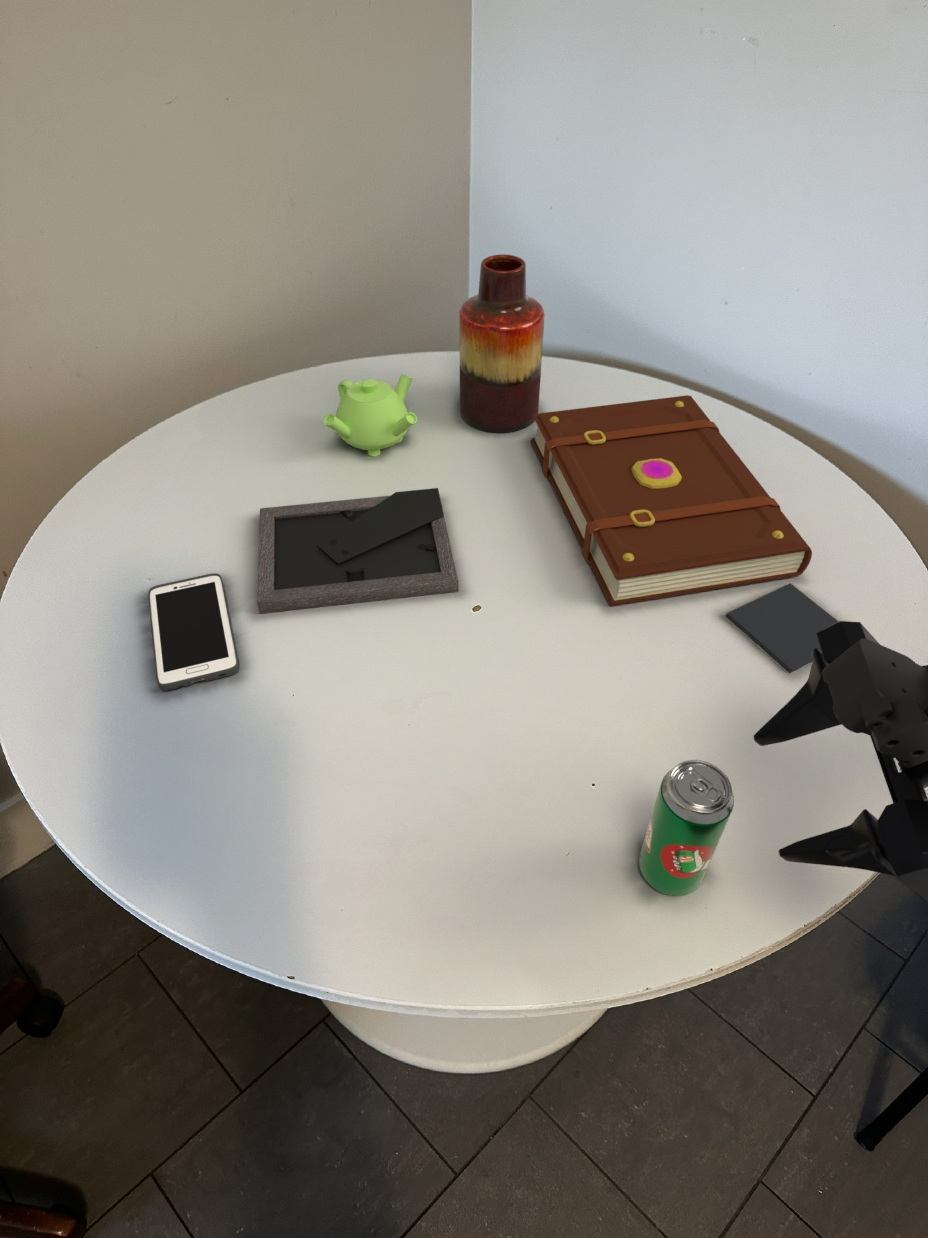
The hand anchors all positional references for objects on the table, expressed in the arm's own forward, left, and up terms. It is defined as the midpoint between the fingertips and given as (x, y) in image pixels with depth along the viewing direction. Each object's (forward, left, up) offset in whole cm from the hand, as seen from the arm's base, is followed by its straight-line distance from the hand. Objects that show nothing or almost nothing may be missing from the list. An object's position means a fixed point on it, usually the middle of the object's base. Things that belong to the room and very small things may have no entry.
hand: (768, 795), depth 57 cm
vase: (+7, -70, -11) cm, 71 cm away
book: (-8, -47, -11) cm, 49 cm away
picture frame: (+28, -43, -11) cm, 52 cm away
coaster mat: (-16, -25, -11) cm, 32 cm away
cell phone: (+45, -33, -11) cm, 57 cm away
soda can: (+5, -1, -11) cm, 12 cm away
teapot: (+24, -65, -11) cm, 70 cm away
